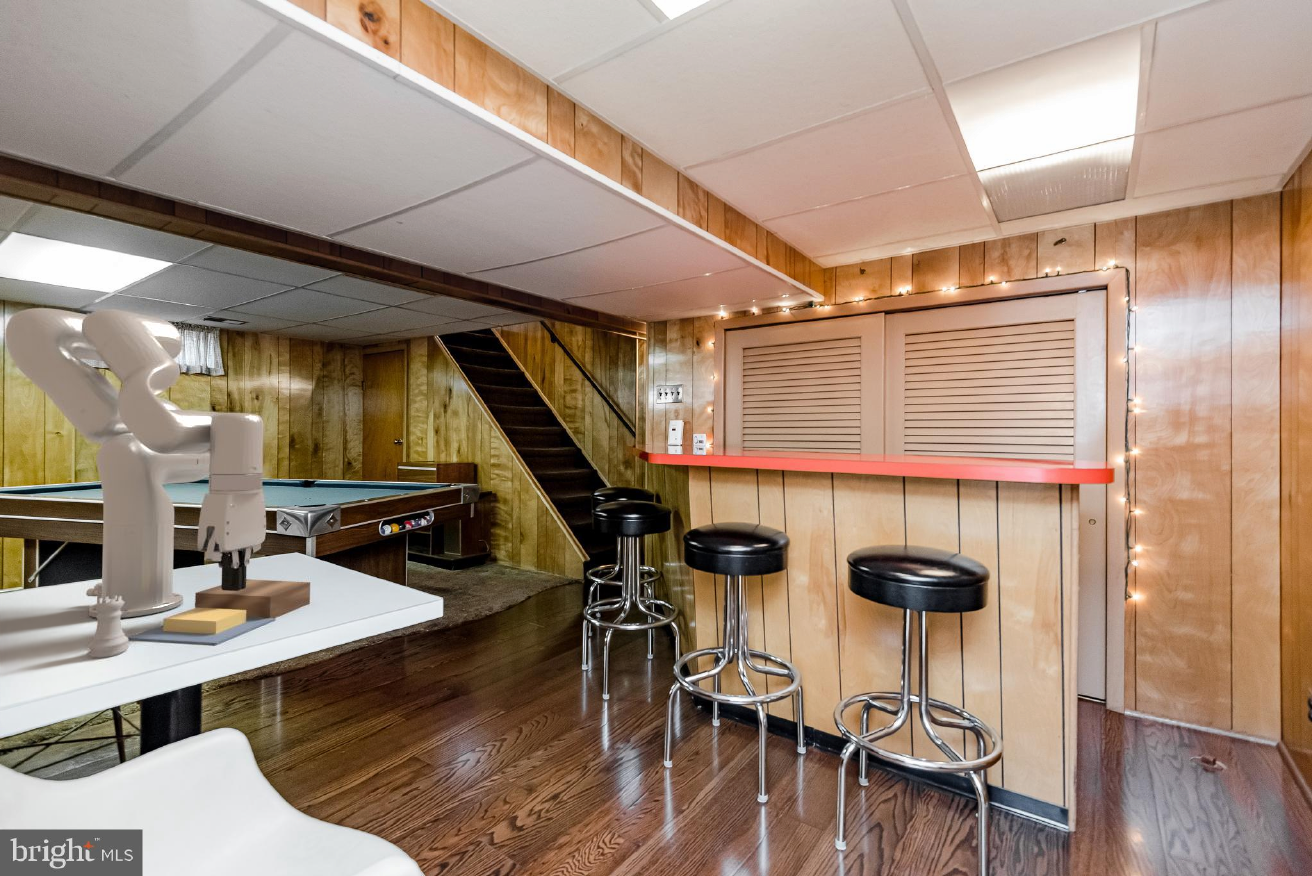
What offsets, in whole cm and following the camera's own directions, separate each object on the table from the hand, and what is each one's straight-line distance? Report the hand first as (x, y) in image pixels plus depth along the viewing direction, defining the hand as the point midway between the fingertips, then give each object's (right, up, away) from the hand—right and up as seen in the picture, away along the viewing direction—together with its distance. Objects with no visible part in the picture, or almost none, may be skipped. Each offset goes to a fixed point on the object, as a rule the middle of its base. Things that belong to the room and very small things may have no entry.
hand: (233, 589), depth 100 cm
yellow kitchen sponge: (0, -3, -6) cm, 6 cm away
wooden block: (0, -5, +5) cm, 7 cm away
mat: (0, -5, -6) cm, 8 cm away
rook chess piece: (-6, -5, -17) cm, 19 cm away
